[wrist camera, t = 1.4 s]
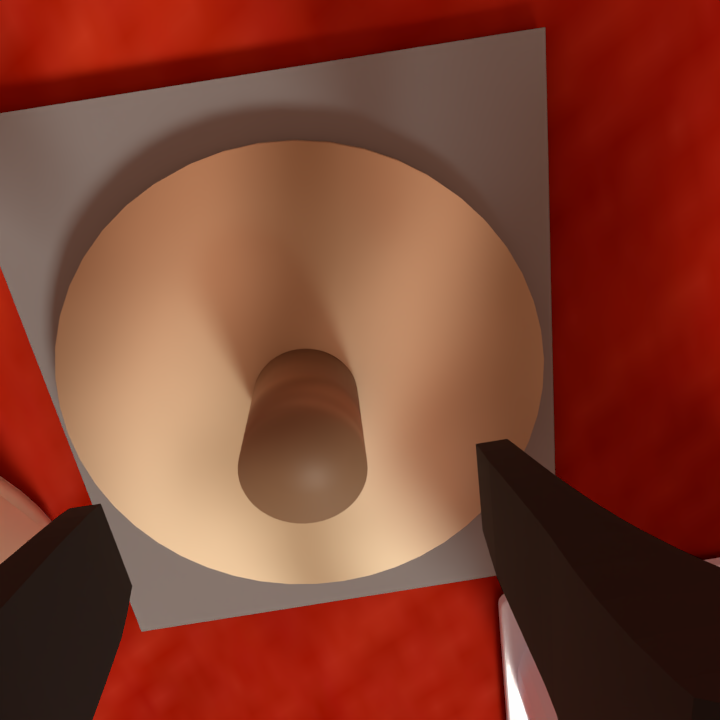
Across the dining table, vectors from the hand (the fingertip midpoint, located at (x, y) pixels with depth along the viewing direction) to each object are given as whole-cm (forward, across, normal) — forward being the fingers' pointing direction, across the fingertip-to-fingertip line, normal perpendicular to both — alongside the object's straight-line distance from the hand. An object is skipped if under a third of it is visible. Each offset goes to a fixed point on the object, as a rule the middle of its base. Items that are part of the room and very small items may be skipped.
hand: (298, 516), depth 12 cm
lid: (+6, 0, 0) cm, 6 cm away
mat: (+6, 0, 0) cm, 7 cm away
